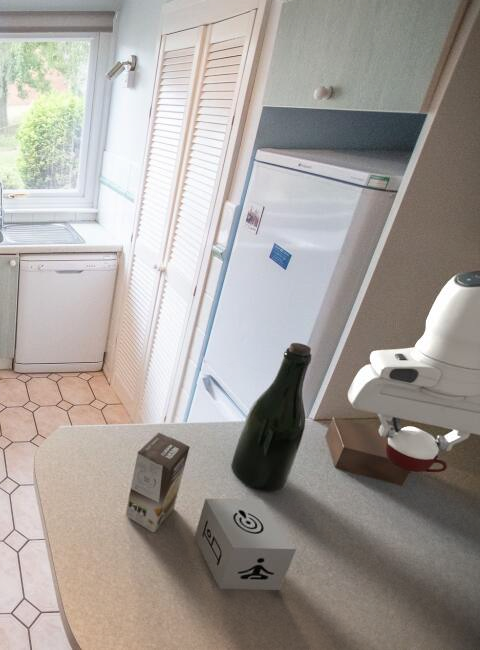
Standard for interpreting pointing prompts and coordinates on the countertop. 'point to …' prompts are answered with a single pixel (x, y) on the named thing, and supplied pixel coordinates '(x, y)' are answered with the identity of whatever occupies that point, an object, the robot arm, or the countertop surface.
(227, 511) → the icon cube
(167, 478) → the coffee box
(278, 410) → the beer bottle
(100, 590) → the countertop surface
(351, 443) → the walnut block
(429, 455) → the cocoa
